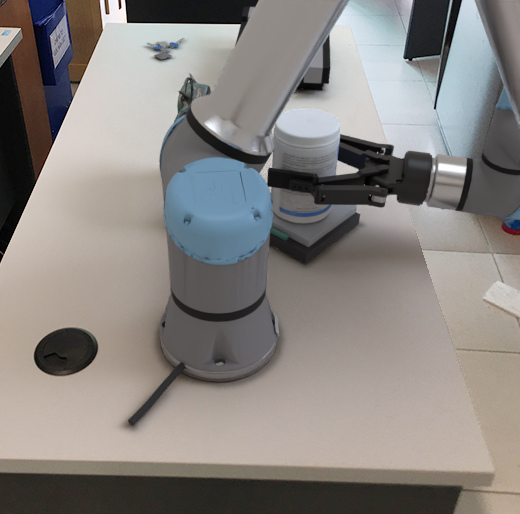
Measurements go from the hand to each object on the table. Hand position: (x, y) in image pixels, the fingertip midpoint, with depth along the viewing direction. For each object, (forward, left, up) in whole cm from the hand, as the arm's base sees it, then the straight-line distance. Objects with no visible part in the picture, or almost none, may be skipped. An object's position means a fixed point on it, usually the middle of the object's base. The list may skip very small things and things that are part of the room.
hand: (274, 159), depth 94 cm
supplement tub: (+2, -4, -8) cm, 9 cm away
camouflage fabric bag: (-4, +14, -11) cm, 19 cm away
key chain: (+37, +66, -11) cm, 77 cm away
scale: (+2, -4, -11) cm, 12 cm away
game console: (+49, +38, -11) cm, 63 cm away
